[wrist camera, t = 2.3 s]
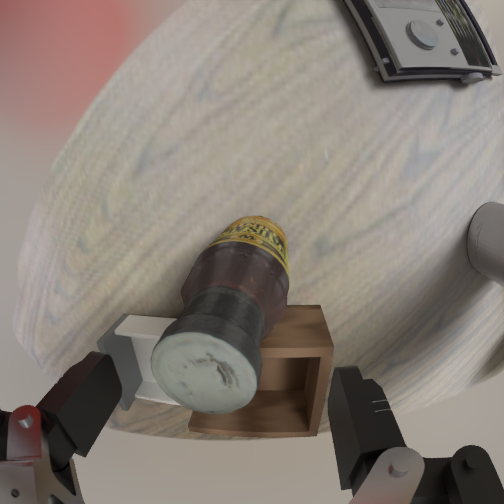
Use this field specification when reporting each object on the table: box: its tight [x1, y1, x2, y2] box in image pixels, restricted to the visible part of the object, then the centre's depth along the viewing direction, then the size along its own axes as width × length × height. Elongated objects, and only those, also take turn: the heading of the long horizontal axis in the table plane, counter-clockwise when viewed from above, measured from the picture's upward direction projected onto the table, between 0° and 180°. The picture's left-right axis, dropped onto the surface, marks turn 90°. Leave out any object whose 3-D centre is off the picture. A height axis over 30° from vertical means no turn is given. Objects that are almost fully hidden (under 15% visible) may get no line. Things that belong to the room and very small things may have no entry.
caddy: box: [188, 305, 334, 437], centre depth 28 cm, size 14×13×8 cm
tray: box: [97, 314, 180, 411], centre depth 28 cm, size 13×10×6 cm
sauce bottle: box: [150, 216, 289, 414], centre depth 18 cm, size 7×6×20 cm
